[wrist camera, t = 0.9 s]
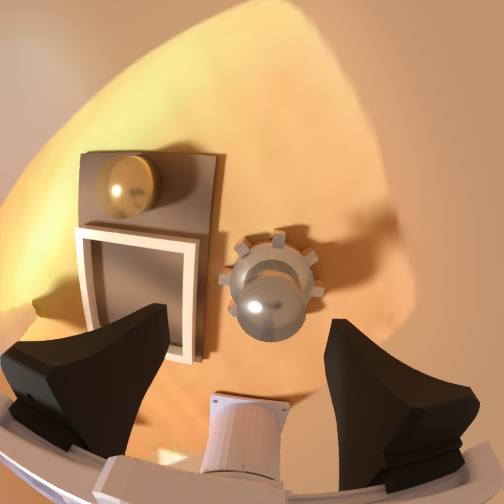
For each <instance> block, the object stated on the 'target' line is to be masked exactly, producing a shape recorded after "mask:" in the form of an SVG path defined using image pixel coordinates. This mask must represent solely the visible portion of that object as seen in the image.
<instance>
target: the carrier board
mask: <svg viewBox="0 0 504 504" xmlns="http://www.w3.org/2000/svg"><path fill="white" fill-rule="evenodd" d="M120 155H126V156H141V157H146V158H148V159H150V160H151V161H152V162H154V163H155V164H156V166H157V167H158V169H159V171H160V173H161V176H162V192H161V195H160V198H159V200H158V202H157V203H156V204H155V205H154V207H152V208H151V209H150V210H148V211H146V212H144V213H141V214H138V215H136V216H133V217H130V218H127V219H115V218H113V217H111V216H109V215H108V214H106V213H105V212H104V211H103V209H102V208H101V207H100V205H99V203H98V200H97V197H96V190H95V186H96V179H97V176H98V173H99V171H100V169H101V167H102V166H103V165H104V164H105V163H106V162H107V161H108V160H109V159H111V158H113V157H115V156H120ZM217 158H218V156H211V155H196V154H178V153H146V152H115V153H84V154H81V157H80V171H79V199H78V216H79V226H81V225H91V226H99V227H107V228H115V229H123V230H130V231H138V232H146V233H153V234H161V235H169V236H176V237H184V238H191V239H199V240H200V246H199V261H198V279H197V302H196V335H195V358H194V361H195V362H200V363H202V360H203V336H204V314H205V295H206V279H207V264H208V250H209V238H210V226H211V215H212V204H213V194H214V184H215V175H216V166H217ZM91 256H92V269H93V280H94V289H95V297H96V305H97V311H98V318H99V324H100V326H101V327H103V326H105V325H108V324H110V323H112V322H114V321H117V320H119V319H121V318H123V317H125V316H127V315H129V314H131V313H133V312H135V311H137V310H139V309H141V308H143V307H145V306H147V305H150V304H152V303H160V304H167V314H168V324H169V333H170V341H171V342H170V345H174V346H178V347H183V336H182V308H183V266H184V253H178V252H172V251H165V250H158V249H151V248H145V247H138V246H132V245H125V244H118V243H112V242H106V241H99V240H93V239H91Z"/></svg>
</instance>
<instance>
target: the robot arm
mask: <svg viewBox="0 0 504 504" xmlns="http://www.w3.org/2000/svg"><path fill="white" fill-rule="evenodd" d="M170 342H171V341H170V333H169V324H168V314H167V304H160V303H152V304H150V305H147V306H145V307H143V308H141V309H139V310H137V311H135V312H133V313H131V314H129V315H127V316H125V317H123V318H121V319H119V320H117V321H114V322H112V323H110V324H108V325H105V326H103V327H100V328H98V329H95V330H92V331H89V332H86V333H83V334H79V335H75V336H70V337H66V338H61V339H54V340H46V341H17V342H16V343H14V344H13V345H12V346H11V347H10V348H9V349H7V350H6V351H5V352H4V353H3V354H2V355H1V356H0V365H1V368H2V371H3V373H4V375H5V377H6V379H7V381H8V383H9V384H10V386H11V388H12V390H13V392H14V393H15V395H16V397H17V399H16V401H15V402H13V401H12V400H11V399H10V398H9V397H8V396H7V395H5V394H4V393H3V392H1V391H0V461H1V462H2V463H4V464H5V465H6V466H7V467H8V468H9V469H10V470H12V471H13V472H14V473H15V474H16V475H18V476H19V477H20V478H21V479H23V480H24V481H25V482H26V483H28V484H29V485H30V486H32V487H33V488H34V489H36V490H37V491H39V492H40V493H41V494H43V495H44V496H46V497H47V498H49V499H50V500H52V501H53V502H55V503H56V504H485V503H486V502H487V501H489V500H490V499H491V498H493V497H494V496H495V495H497V494H498V493H499V492H500V491H501V490H503V489H504V472H503V470H502V468H501V465H500V463H499V461H498V459H497V457H496V455H495V453H494V451H493V450H492V447H491V446H490V444H489V442H488V441H485V442H483V443H481V444H479V445H477V446H474V447H472V448H470V449H468V450H467V451H465V452H464V453H462V454H461V452H460V450H459V448H460V447H461V446H462V444H463V443H462V441H461V439H460V437H461V436H462V434H463V433H464V432H465V431H466V429H467V428H468V427H469V426H470V424H471V423H472V422H473V420H474V419H475V417H476V416H477V413H478V411H479V408H480V402H479V401H478V399H477V398H476V396H475V394H474V393H473V391H472V390H471V388H470V387H466V386H462V385H457V384H453V383H449V382H445V381H443V380H439V379H436V378H434V377H431V376H429V375H426V374H424V373H422V372H420V371H418V370H415V369H413V368H411V367H409V366H408V365H406V364H404V363H402V362H401V361H399V360H397V359H396V358H394V357H393V356H391V355H390V354H388V353H387V352H386V351H384V350H383V349H382V348H380V347H379V346H378V345H376V344H375V343H374V342H373V341H371V340H370V339H369V338H368V337H367V336H366V335H364V334H363V333H362V332H361V331H360V330H359V329H357V328H356V327H355V326H354V325H353V324H352V323H350V322H349V321H348V320H347V319H332V323H331V328H330V332H329V336H328V341H327V345H326V349H325V353H324V364H325V373H326V378H327V382H328V387H329V390H330V395H331V398H332V403H333V407H334V411H335V415H336V422H337V432H338V445H339V492H330V493H317V494H292V492H291V491H289V490H287V491H284V490H283V481H280V434H281V431H282V429H283V426H284V423H285V420H286V417H287V415H288V412H289V409H290V403H289V402H284V401H273V400H263V399H255V398H247V397H240V396H233V395H227V394H221V393H212V394H211V402H210V431H209V438H208V442H207V446H206V450H205V455H204V459H203V463H202V467H201V471H200V473H194V472H189V471H184V470H180V469H175V468H171V467H167V466H163V465H159V464H156V463H152V462H149V461H145V460H142V459H139V458H134V457H129V456H125V452H126V448H127V444H128V440H129V437H130V433H131V430H132V427H133V424H134V421H135V418H136V415H137V413H138V410H139V407H140V405H141V402H142V400H143V398H144V396H145V394H146V392H147V390H148V388H149V386H150V385H151V383H152V381H153V379H154V377H155V376H156V374H157V372H158V370H159V368H160V366H161V365H162V363H163V361H164V359H165V356H166V353H167V351H168V348H169V345H170Z"/></svg>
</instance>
